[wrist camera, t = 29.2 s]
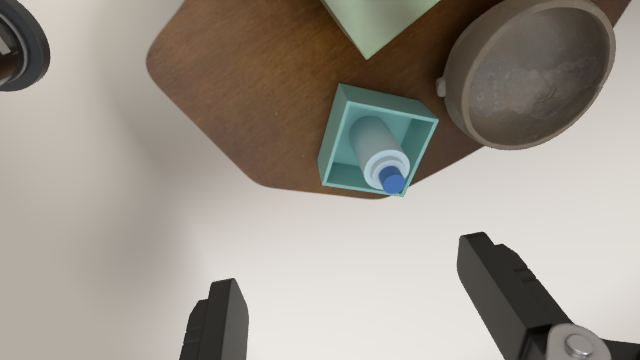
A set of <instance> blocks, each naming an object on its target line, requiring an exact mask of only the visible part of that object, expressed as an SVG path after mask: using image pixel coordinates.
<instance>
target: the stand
mask: <svg viewBox="0 0 640 360" xmlns="http://www.w3.org/2000/svg"><path fill="white" fill-rule="evenodd" d="M320 1H321V2H322V4H323V5H324V7H325V8H326V9H327V11H328V12H329V14H330V15H331V16H332V18H333V19H334V21H335V22H336V23H337V25H338V26H339V28H340V29H341V30H342V31H343V33H344V34H345V35H346V36H347V37H348V39H349V40H350V41H351V42H352V43H353V45H354V46H355V47H356V48H357V49H358V51H359V52H360V53H361V54H362V55H363V56H364V58H365V59H366V60H367V59H369V58H370V57H371V56H372V55H374V54H375V53H376V52H377V51H378V50H380V49H381V48H382V47H383V46H385V45H386V44H387V43H388V42H389V41H391V40H392V39H393V38H394V37H396V36H397V35H398V34H399V33H401V32H402V31H403V30H404V29H405V28H407V27H408V26H409V25H410V24H412V23H413V22H414V21H415V20H416V19H418V18H419V17H420V16H421V15H423V14H424V13H425V12H426V11H427V10H429V9H430V8H431V7H432V6H434V5H435V4H436V3H437V2H439V1H440V0H320Z"/></svg>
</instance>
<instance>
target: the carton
mask: <svg viewBox="0 0 640 360" xmlns="http://www.w3.org/2000/svg"><path fill="white" fill-rule="evenodd" d="M365 116H376V117H379V118H381V119H382V120H383V121H384V122H385V123H386V125H387V127H388V128H389V130H390V131H391V133H392V134H393V136H394V137H395V139H396V141H397V142H398V144H399V145H400V147H401V148H402V150H403V151H404V153H405V155H406V156H407V158H408V160H409V163H410V169H409V173H408V175H407V177H406V178H405V186H404V188H403V189H402V190H401V191H400V192H398V193H395V194H389V193H387V192H385V191H384V190H381V189H376V188H373V187H371V186H370V185H369V184H368V183H367V182H366V180H365V178H364V176H363V173H362V170H361V168H360V165H359V163H358V160H357V158H356V155H355V153H354V150H353V148H352V145H351V143H350V140H349V132H350V129H351V127H352V125H353V124H354V123H355V122H356V121H357V120H358V119H360V118H362V117H365ZM438 121H439V119H438V118H437V117H436V116H435V115H434V114H433V113H432V112H431V111H430V110H429V109H428V108H427V107H426V106H425V105H424V104H423V103H422V102H421V101H419V100H414V99H410V98H405V97H400V96H396V95H391V94H387V93H382V92H378V91H373V90H368V89H364V88H359V87H355V86H350V85H345V84H341V83H339V84H338V88H337V91H336V95H335V98H334V102H333V105H332V109H331V113H330V116H329V120H328V123H327V127H326V130H325V134H324V138H323V141H322V145H321V148H320V152H319V155H318V159H317V163H318V168H319V173H320V177H321V182H322V185H326V186H332V187H339V188H346V189H353V190H359V191H366V192H373V193H380V194H386V195H393V196H401V197H404V195H405V193H406V190H407V188H408V186H409V184H410V182H411V180H412V177H413V175H414V173H415V171H416V169H417V167H418V164H419V162H420V160H421V158H422V156H423V154H424V151H425V149H426V147H427V145H428V143H429V140H430V138H431V136H432V134H433V132H434V130H435V127H436V125H437V123H438Z"/></svg>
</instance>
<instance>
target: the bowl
mask: <svg viewBox="0 0 640 360" xmlns="http://www.w3.org/2000/svg"><path fill="white" fill-rule="evenodd" d="M615 51H616V40H615V34H614V31H613V28H612V26H611V24H610V22H609V20H608V18H607V16H606V15H605V14H604V12H603V11H602V10H601V9H600V8H599V7H598V6H597V5H595V4H594V3H593V2H591V1H590V0H504V1H503V2H501V3H499V4H497V5H495V6H494V7H492V8H491V9H489V10H488V11H486V12H485V13H484V14H482V15H481V16H480V17H478V18H477V19H476V20H475V21H473V22H472V23H471V24H470V25H469V26H468V27H467V28H466V29H465V30H464V31H463V32H462V34H461V35H460V36H459V38H458V39H457V41H456V42H455V44H454V46H453V48H452V50H451V52H450V54H449V58H448V60H447V63H446V65H445V70H444V74H443V76H442V77H441V78H438V79H437V80H436V90H437V95H438V96H439V97H444V102H445V105H446V108H447V112H448V114H449V116H450V118H451V120H452V121H453V122H454V123H455V124H456V125H457V127H458V128H459V129H461V130H462V131H463V132H464V133H465V134H466V135H467V136H469V137H470V138H472V139H473V140H475V141H477V142H479V143H481V144H483V145H485V146H488V147H491V148H495V149H499V150H521V149H527V148H530V147H534V146H537V145H540V144H542V143H545V142H547V141H549V140H551V139H553V138H554V137H556V136H558V135H559V134H561V133H562V132H564V131H565V130H566V129H568V128H569V127H570V126H572V125H573V124H574V123H575V122H576V121H577V120H578V119H579V118H580V117H581V116H582V115H583V114H584V113H585V112H586V111H587V110H588V109H589V107H590V106H591V105H592V104H593V102H594V101H595V99H596V98H597V96H598V95H599V93H600V91H601V89H602V87H603V85H604V83H605V82H606V80H607V78H608V76H609V74H610V72H611V70H612V67H613V63H614V59H615Z"/></svg>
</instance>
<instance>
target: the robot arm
mask: <svg viewBox="0 0 640 360" xmlns="http://www.w3.org/2000/svg"><path fill="white" fill-rule="evenodd" d="M29 64H30V49H29V46H28V43H27V40H26V38H25V36H24V35H23V33H22V31H21V30H20V29H19V27H18V26H17V25H16V24H15V22H14V21H13V20H12V19H11V18H10V17H9V16H7V15H6V14H5V13H4V12H2V11H1V10H0V86H1V85H3V84H5V83H9V82H11V81H14V80H16V79H18V78H19V77H21V76H22V75H23V74H24V73H25V72H26V71H27V69H28V67H29ZM457 271H458V275H459V278H460V280H461V283H462V284H463V286H464V288H465V290H466V291H467V293H468V295H469V297H470V299H471V300H472V302H473V304H474V306H475V307H476V309H477V311H478V313H479V315H480V316H481V318H482V320H483V322H484V323H485V325H486V327H487V329H488V331H489V332H490V334H491V336H492V338H493V339H494V341H495V343H496V345H497V347H498V348H499V350H500V352H501V354H502V355H503V357H504V359H505V360H640V344H636V343H627V342H619V341H611V340H605V339H601V338H599V337H598V336H597V335H595V334H594V333H593V332H591V331H590V330H588V329H586V328H584V327H581V326H579V325H575V324H574V323H573V322H572V321H571V320H570V319H569V318H568V316H567V315H566V314H565V313H564V312H563V311H562V309H561V308H560V306H559V305H558V304H557V303H556V301H555V300H554V299H553V298H552V296H551V295H550V294H549V293H548V291H547V290H546V289H545V288H544V286H543V285H542V284H541V283H540V282H539V280H538V279H536V276H535V275H534V274H533V273H532V271H531V270H530V269H528V268H527V265H526V264H525V263H524V262H523V260H522V259H521V258H520V257H519V255H518V254H517V253H516V252H514V251H513V250H511V249H510V248H508V247H507V246H505V245H504V244H499V245H494V244H493V242H492V241H491V240H490V238H489V237H488V236H487V234H486V233H484V232H478V233H473V234H467V235H462V236H461V237H460V239H459V248H458V257H457ZM248 325H249V315H248V308H247V304H246V302H245V300H244V298H243V295H242V293H241V291H240V288H239V286H238V284H237V282H236V280H235V279H234V278H231V279H226V280H221V281H216V282H212V284H211V287H210V291H209V296H208V299H205V300H199V301H198V303H197V304H196V306H195V307H194V309H193V311H192V312H191V314H190V316H189V320H188V324H187V329H186V333H185V337H184V342H183V343H184V345H183V346H182V350H181V354H180V359H179V360H246V353H247V339H248Z"/></svg>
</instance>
